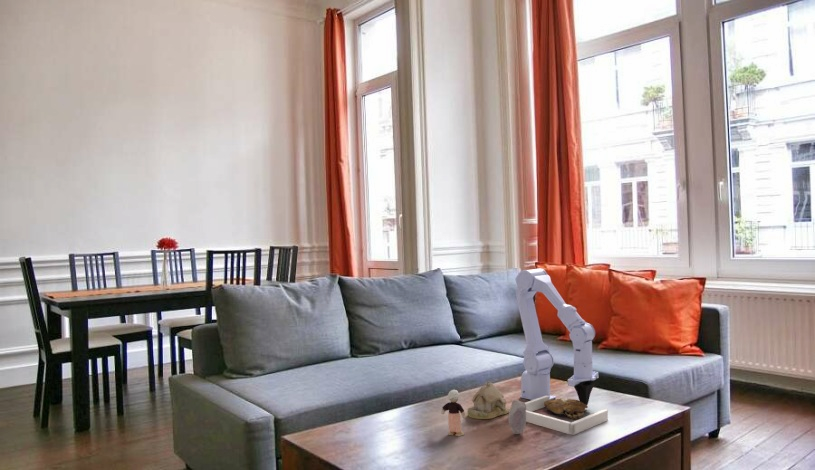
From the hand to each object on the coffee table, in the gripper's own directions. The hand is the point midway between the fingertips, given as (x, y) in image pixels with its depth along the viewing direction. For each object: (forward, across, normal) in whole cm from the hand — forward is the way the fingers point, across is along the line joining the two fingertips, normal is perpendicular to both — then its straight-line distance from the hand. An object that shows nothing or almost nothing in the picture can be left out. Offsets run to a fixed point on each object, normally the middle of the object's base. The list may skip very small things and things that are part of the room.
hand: (583, 404), depth 191 cm
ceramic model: (+2, -24, +19) cm, 31 cm away
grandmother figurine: (+2, -46, +13) cm, 47 cm away
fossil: (+2, -34, 0) cm, 34 cm away
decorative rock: (+2, -7, +1) cm, 7 cm away
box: (+1, -14, 0) cm, 14 cm away
